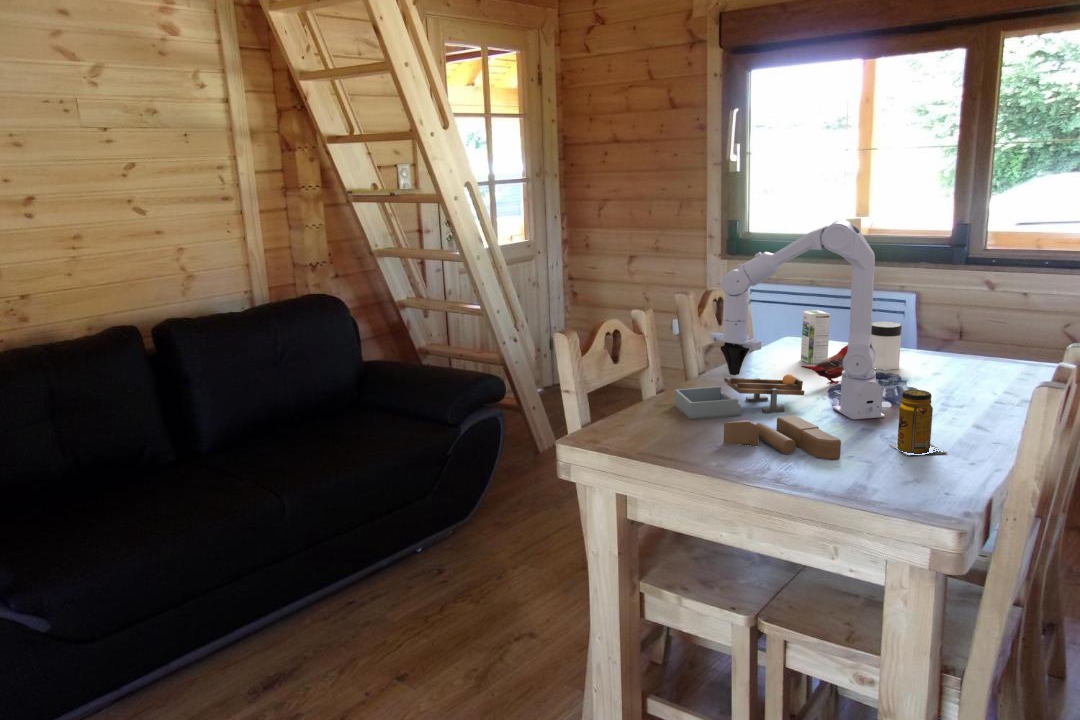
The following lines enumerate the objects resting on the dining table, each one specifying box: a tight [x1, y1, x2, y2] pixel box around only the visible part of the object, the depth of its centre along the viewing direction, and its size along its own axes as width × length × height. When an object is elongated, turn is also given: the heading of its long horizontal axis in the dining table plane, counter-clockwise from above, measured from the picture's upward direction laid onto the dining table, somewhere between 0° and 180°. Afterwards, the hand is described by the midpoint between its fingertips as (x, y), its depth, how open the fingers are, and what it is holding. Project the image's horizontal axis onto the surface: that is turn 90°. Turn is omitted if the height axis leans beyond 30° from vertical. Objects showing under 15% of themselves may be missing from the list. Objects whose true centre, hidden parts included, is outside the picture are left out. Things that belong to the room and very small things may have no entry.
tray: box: [674, 385, 741, 421], centre depth 198 cm, size 12×12×4 cm
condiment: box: [889, 389, 948, 457], centre depth 167 cm, size 7×8×12 cm
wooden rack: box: [723, 376, 806, 396], centre depth 201 cm, size 16×12×3 cm
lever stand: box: [745, 377, 786, 415], centre depth 200 cm, size 5×11×6 cm, turn 8°
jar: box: [871, 321, 903, 371], centre depth 231 cm, size 9×8×12 cm
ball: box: [781, 373, 796, 385], centre depth 200 cm, size 3×3×3 cm
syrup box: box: [800, 309, 831, 365], centre depth 240 cm, size 6×6×14 cm
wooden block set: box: [723, 414, 842, 461], centre depth 170 cm, size 17×6×18 cm
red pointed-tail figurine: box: [800, 344, 848, 385], centre depth 215 cm, size 3×18×10 cm, turn 112°
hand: (734, 374), depth 204 cm, fingers closed
